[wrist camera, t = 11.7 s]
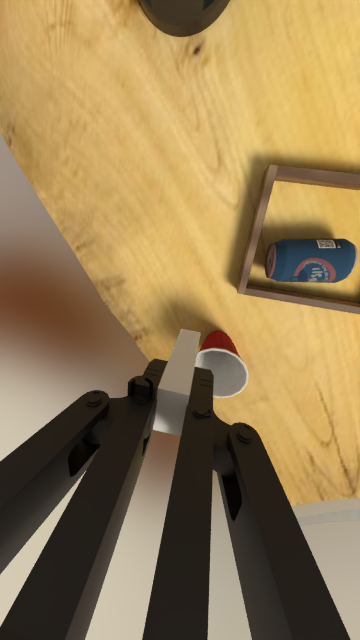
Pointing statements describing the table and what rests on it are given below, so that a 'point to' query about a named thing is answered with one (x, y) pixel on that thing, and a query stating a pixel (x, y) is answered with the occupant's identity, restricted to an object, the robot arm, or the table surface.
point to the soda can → (310, 260)
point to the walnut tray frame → (270, 175)
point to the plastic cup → (223, 365)
